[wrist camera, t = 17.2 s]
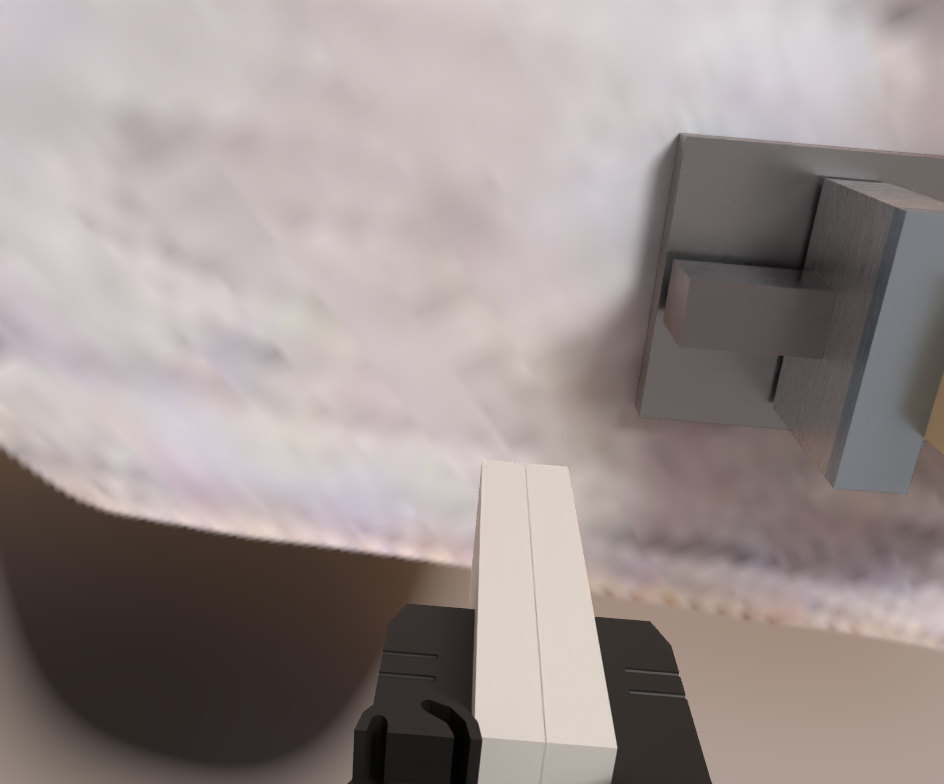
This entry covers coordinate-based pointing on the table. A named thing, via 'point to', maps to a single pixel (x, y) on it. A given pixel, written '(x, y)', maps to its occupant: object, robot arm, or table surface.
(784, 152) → the vise
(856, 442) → the vise jaw
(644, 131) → the table surface
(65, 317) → the table surface
